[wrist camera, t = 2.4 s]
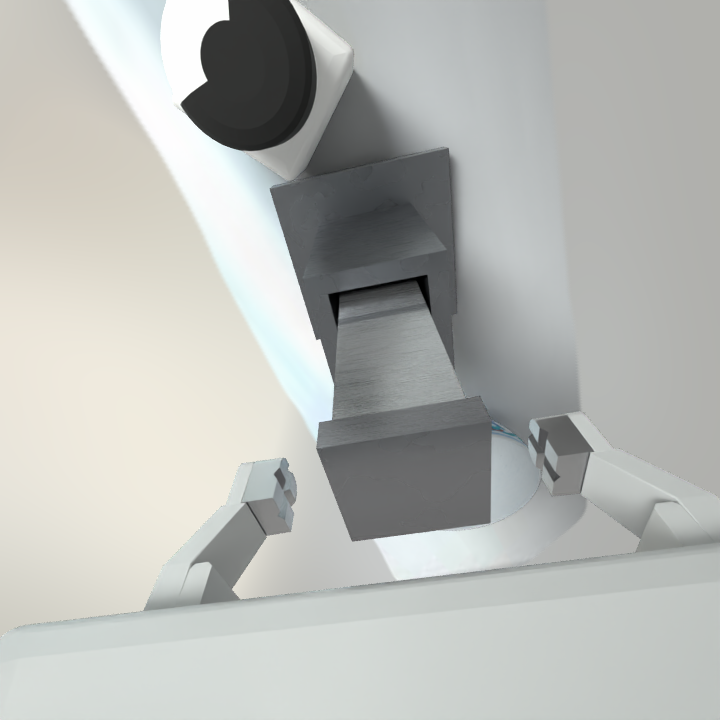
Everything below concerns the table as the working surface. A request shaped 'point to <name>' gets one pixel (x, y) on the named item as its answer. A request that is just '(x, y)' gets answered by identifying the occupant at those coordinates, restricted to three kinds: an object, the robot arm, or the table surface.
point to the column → (402, 422)
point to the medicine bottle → (256, 75)
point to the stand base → (372, 237)
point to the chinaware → (509, 475)
